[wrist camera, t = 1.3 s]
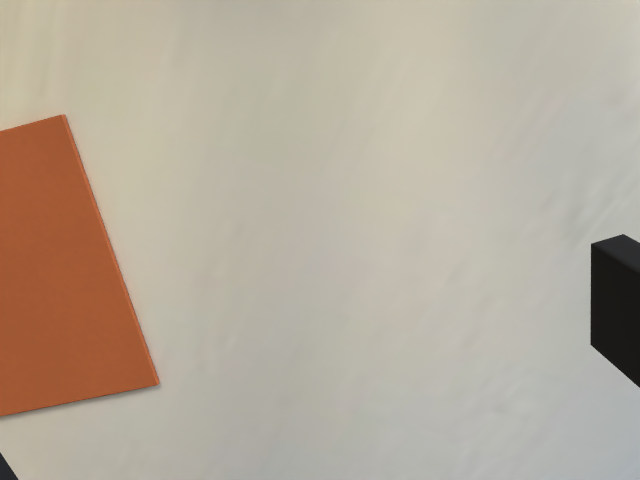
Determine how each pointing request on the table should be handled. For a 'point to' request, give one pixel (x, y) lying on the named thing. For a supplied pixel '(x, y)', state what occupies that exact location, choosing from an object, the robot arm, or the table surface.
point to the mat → (59, 280)
